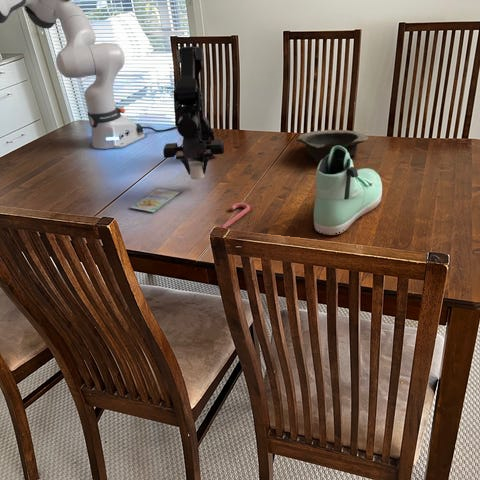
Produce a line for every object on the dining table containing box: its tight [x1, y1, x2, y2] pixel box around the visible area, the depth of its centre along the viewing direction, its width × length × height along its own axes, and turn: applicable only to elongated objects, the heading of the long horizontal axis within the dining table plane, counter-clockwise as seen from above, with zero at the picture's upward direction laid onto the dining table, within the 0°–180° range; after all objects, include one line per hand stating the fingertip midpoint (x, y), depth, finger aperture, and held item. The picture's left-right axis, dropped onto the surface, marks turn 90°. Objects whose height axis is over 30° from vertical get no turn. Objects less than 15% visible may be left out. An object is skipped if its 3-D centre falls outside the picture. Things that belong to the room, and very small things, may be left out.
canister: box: [189, 161, 205, 180], centre depth 154 cm, size 4×4×4 cm
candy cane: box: [220, 202, 251, 229], centre depth 139 cm, size 6×15×2 cm, turn 145°
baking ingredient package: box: [130, 188, 181, 213], centre depth 152 cm, size 9×1×15 cm
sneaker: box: [313, 146, 383, 236], centre depth 133 cm, size 14×35×20 cm, turn 152°
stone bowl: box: [296, 129, 369, 165], centre depth 171 cm, size 25×25×9 cm
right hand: (197, 173), depth 155 cm, fingers closed on canister, 4 cm apart
